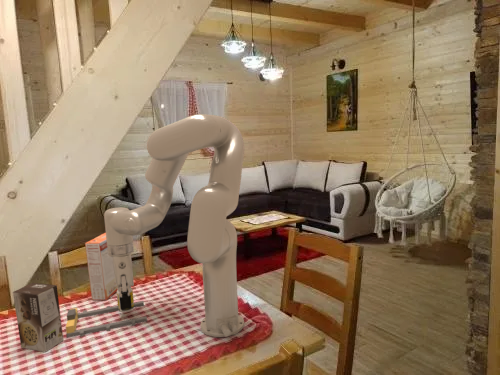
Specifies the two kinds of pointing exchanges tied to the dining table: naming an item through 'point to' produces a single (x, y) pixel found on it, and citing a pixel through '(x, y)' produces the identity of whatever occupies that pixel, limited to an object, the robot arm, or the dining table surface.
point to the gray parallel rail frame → (106, 326)
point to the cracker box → (100, 269)
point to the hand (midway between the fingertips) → (125, 304)
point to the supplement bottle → (131, 299)
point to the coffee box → (38, 316)
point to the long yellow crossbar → (71, 320)
